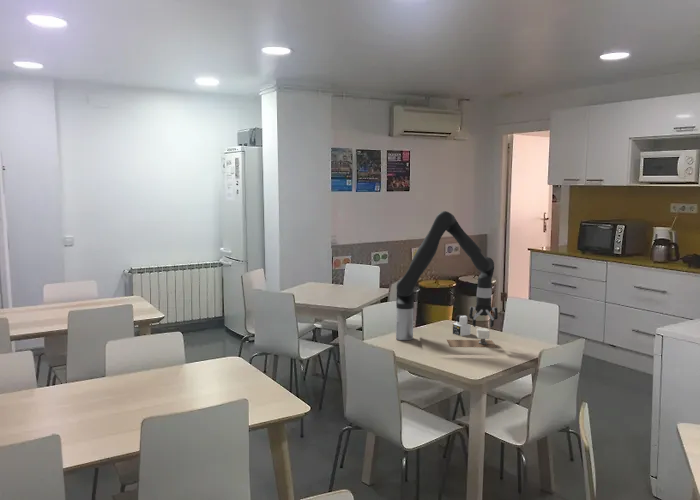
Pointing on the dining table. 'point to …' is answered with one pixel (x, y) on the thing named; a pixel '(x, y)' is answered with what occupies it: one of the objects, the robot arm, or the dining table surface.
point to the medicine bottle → (461, 326)
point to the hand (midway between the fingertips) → (482, 326)
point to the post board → (471, 343)
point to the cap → (482, 333)
